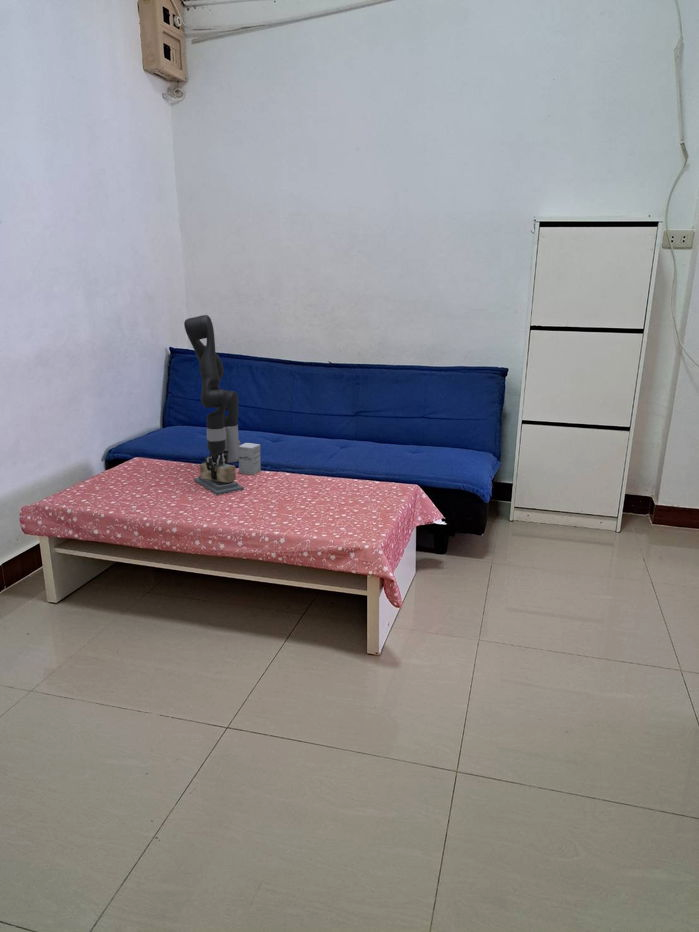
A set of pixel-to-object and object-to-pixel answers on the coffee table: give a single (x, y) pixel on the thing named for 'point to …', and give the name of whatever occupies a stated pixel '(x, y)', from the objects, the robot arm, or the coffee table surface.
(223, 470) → the oak frame
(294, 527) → the coffee table surface
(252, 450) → the supplement box
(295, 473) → the coffee table surface
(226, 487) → the grey rectangular framed panel
